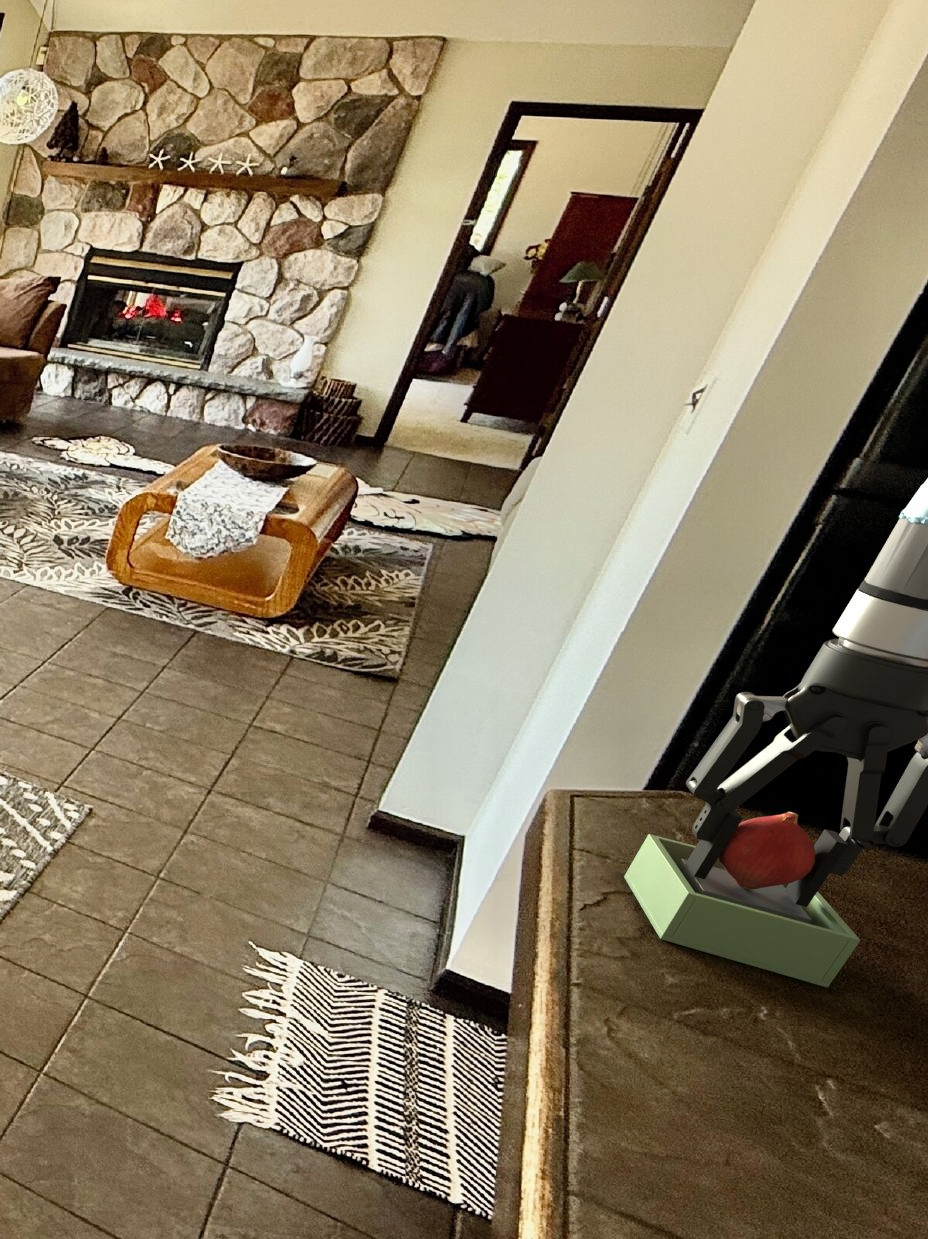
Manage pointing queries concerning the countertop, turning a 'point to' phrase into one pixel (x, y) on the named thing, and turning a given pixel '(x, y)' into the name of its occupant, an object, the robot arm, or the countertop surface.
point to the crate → (736, 920)
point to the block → (744, 893)
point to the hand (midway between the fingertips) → (744, 884)
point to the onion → (768, 852)
